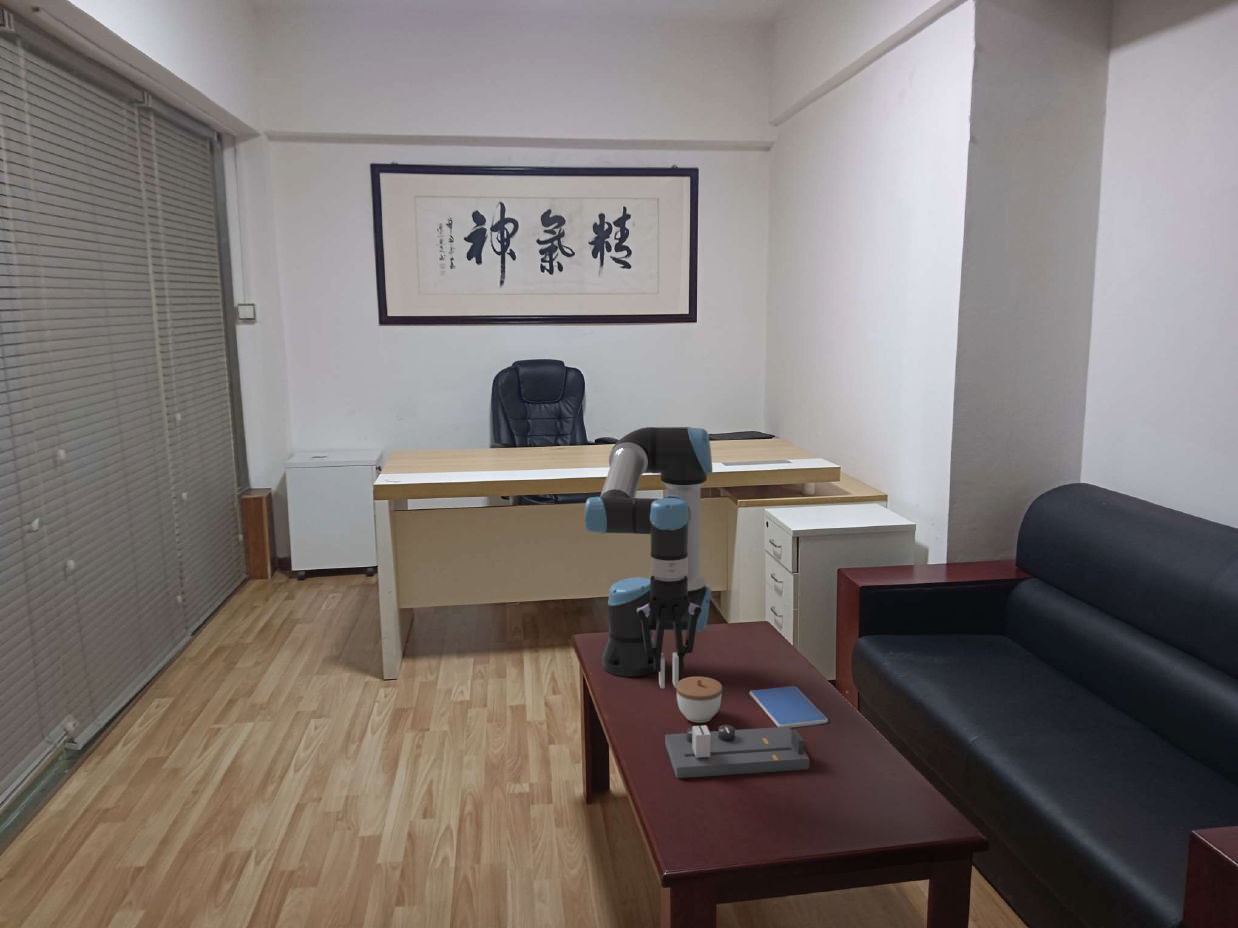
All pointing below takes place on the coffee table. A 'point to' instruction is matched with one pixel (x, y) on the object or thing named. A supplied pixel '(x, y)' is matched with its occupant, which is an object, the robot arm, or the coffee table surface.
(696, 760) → the console
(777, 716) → the tablet computer
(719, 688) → the lidded jar
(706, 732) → the fader tab
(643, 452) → the robot arm
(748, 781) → the coffee table surface
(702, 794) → the coffee table surface
